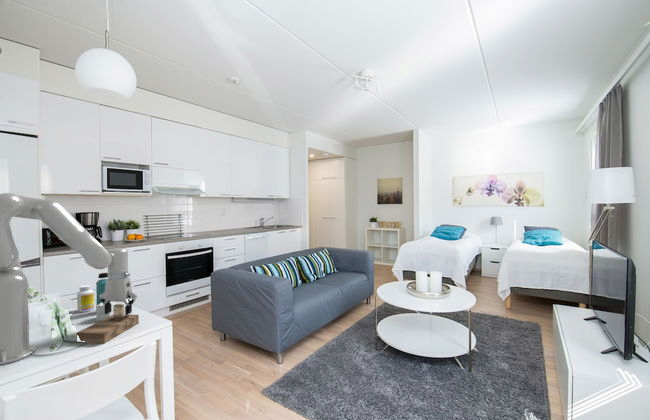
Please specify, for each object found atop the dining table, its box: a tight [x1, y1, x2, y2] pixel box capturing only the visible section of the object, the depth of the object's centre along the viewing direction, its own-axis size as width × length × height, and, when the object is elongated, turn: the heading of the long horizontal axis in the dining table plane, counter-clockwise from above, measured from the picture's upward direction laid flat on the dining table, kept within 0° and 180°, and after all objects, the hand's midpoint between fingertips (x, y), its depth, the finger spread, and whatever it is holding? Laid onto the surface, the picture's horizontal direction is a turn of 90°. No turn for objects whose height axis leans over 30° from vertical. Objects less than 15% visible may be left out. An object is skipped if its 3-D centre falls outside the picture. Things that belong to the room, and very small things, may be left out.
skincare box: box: [95, 301, 117, 322], centre depth 147 cm, size 6×6×7 cm
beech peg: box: [113, 303, 125, 321], centre depth 136 cm, size 4×4×10 cm
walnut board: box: [75, 313, 140, 344], centre depth 131 cm, size 20×12×4 cm, turn 176°
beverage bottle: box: [95, 272, 108, 306], centre depth 155 cm, size 6×7×20 cm
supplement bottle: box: [76, 284, 95, 313], centre depth 157 cm, size 7×7×13 cm
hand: (118, 313), depth 136 cm, fingers open, 9 cm apart
